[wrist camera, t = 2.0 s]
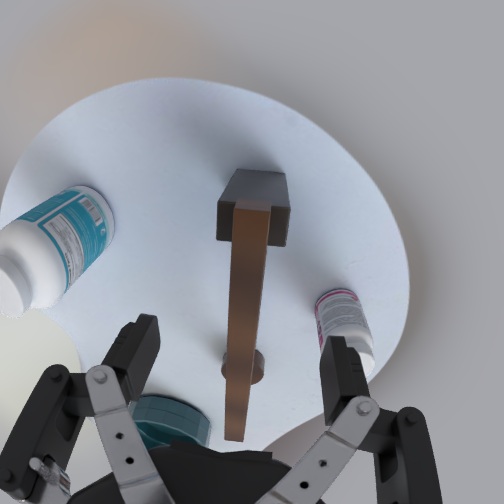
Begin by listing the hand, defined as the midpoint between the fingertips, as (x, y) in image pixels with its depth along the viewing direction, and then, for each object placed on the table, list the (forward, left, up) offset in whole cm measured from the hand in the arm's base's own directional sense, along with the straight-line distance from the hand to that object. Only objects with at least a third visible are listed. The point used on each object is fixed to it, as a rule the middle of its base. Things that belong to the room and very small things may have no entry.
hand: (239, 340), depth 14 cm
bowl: (+25, -25, -14) cm, 38 cm away
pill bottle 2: (+11, +4, -15) cm, 19 cm away
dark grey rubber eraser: (-3, +2, -14) cm, 15 cm away
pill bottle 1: (-7, -16, -15) cm, 22 cm away
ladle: (+6, -3, -14) cm, 16 cm away
